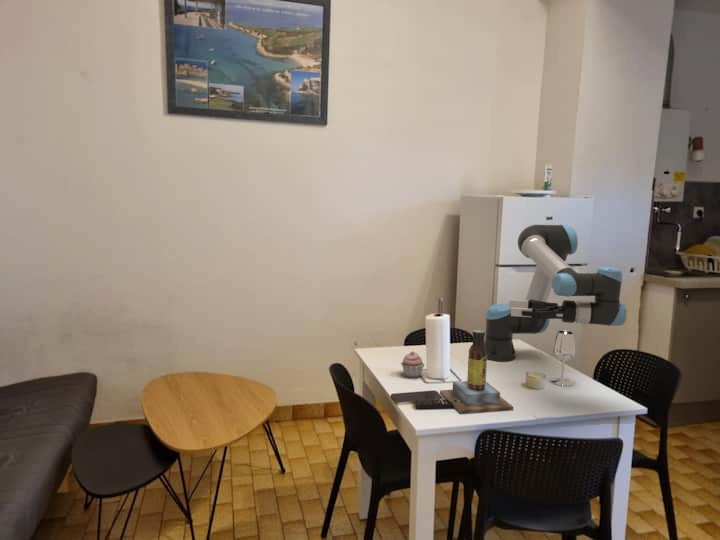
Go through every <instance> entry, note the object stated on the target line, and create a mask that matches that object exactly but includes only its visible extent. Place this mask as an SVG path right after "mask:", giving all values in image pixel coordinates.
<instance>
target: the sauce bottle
mask: <svg viewBox="0 0 720 540" xmlns="http://www.w3.org/2000/svg"><path fill="white" fill-rule="evenodd" d="M485 337H486V330H485V331H484V330H482V329H473V330H472V344H471V346H470V347H469V348H468V349H469V350H468V359H467V380H466V381H467V382H468V384H467V385H468V387H469V388H471V389H475V390H481V389H484V388H485V384H486V382H487V363H488V359H487V352H486V349H485V346H484V341H485Z"/></svg>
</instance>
